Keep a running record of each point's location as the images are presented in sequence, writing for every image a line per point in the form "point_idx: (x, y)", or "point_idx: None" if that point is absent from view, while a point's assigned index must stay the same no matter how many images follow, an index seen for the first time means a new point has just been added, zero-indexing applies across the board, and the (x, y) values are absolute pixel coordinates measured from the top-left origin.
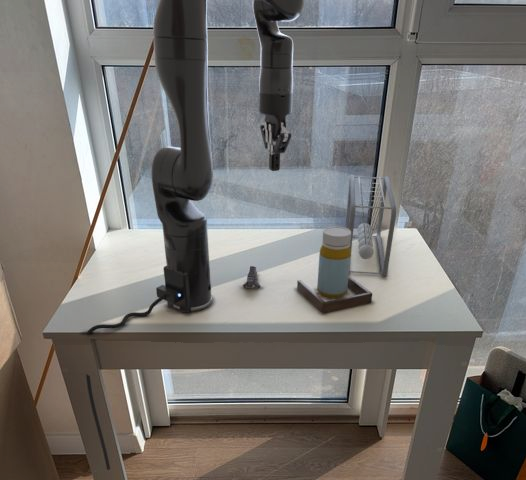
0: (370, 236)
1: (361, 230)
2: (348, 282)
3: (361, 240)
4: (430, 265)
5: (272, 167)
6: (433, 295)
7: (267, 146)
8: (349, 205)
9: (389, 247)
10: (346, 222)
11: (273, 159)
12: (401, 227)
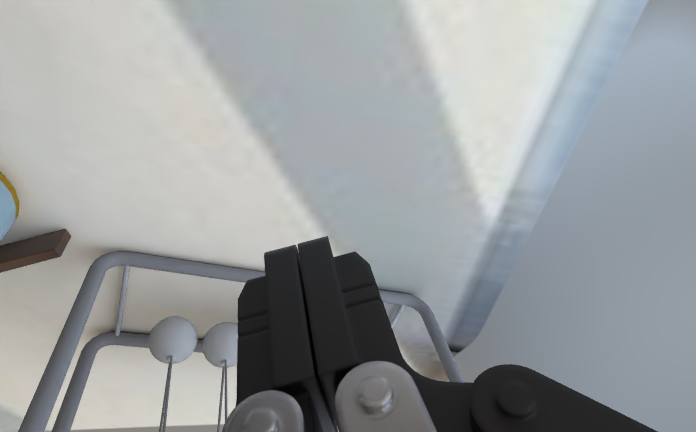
0: None
1: None
2: (8, 252)
3: (226, 347)
4: (188, 419)
5: (268, 278)
6: (4, 402)
7: (477, 426)
8: (446, 371)
9: (56, 419)
10: (429, 323)
11: (261, 357)
12: None
